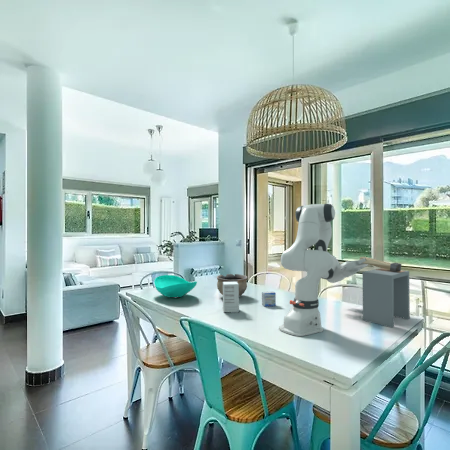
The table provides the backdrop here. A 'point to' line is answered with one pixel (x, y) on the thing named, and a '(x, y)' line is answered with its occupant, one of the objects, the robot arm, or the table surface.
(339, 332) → the table surface
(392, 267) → the beech handle
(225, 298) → the supplement box
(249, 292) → the table surface
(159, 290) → the table top decor
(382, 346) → the table surface
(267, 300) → the medicine box
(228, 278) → the ceramic bowl
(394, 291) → the shelf stand
